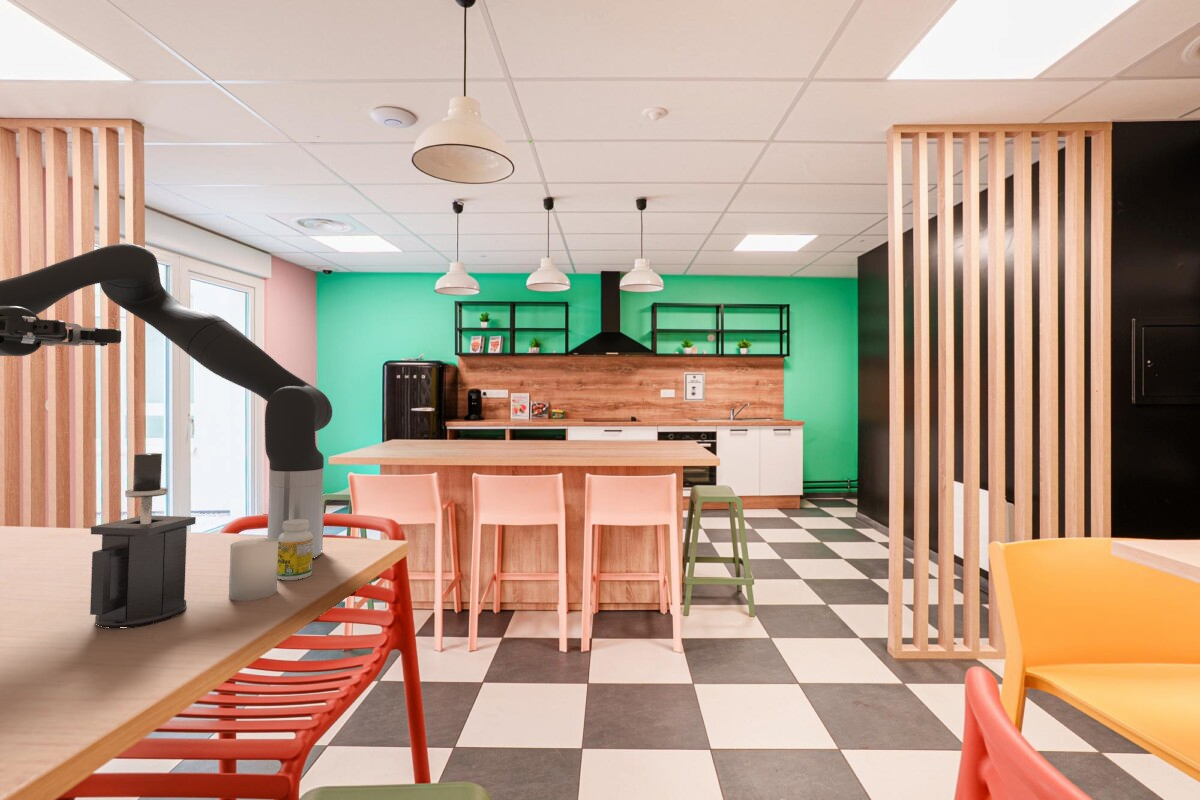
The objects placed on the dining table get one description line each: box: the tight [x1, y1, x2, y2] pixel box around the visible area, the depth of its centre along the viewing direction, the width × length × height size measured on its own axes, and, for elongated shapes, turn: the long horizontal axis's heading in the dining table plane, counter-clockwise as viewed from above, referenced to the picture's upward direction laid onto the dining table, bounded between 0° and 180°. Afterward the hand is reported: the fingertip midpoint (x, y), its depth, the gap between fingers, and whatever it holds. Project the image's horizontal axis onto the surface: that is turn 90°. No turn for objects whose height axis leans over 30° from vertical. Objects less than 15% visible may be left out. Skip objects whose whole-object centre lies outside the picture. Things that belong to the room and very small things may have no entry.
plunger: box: [124, 452, 169, 524], centre depth 77 cm, size 5×5×21 cm
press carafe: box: [89, 515, 197, 628], centre depth 76 cm, size 12×10×13 cm
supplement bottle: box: [277, 519, 313, 581], centre depth 95 cm, size 5×5×10 cm
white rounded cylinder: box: [228, 537, 278, 602], centre depth 86 cm, size 6×6×8 cm
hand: (92, 332), depth 82 cm, fingers open, 8 cm apart
